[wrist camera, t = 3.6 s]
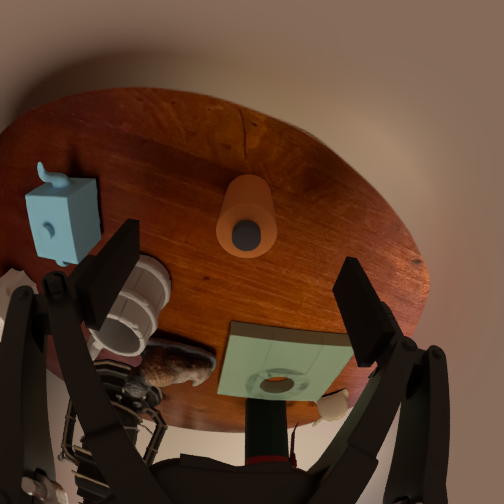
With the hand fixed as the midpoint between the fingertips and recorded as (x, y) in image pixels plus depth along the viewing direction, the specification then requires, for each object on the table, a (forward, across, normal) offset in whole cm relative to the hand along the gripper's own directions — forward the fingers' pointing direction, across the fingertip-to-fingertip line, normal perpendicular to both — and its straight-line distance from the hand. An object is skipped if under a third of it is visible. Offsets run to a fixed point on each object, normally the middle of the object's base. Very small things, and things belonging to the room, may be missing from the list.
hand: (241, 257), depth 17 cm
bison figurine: (+12, -6, -25) cm, 28 cm away
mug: (+12, -12, -14) cm, 22 cm away
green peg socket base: (+11, +10, -25) cm, 29 cm away
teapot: (+12, -19, -3) cm, 22 cm away
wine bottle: (+11, +12, -39) cm, 42 cm away
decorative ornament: (+11, +23, -36) cm, 44 cm away
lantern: (+12, -17, -41) cm, 46 cm away
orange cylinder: (+11, 0, 0) cm, 11 cm away
